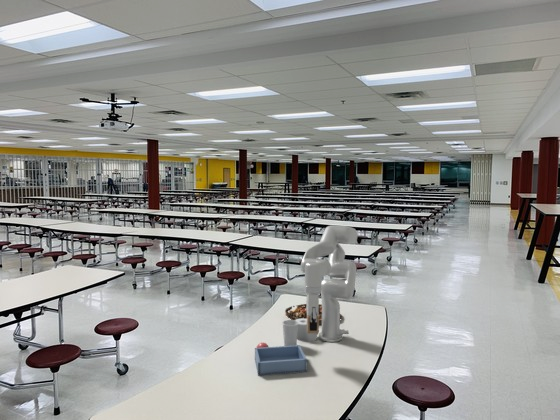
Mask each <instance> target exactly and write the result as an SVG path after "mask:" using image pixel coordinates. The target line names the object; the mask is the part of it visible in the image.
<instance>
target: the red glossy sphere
mask: <svg viewBox="0 0 560 420" xmlns="http://www.w3.org/2000/svg"><path fill="white" fill-rule="evenodd" d="M263 347H269V345H268V344H267V343H266V342H259V343H258V344H257V346H256V348H263Z"/></svg>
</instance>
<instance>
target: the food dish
mask: <svg viewBox="0 0 560 420" xmlns="http://www.w3.org/2000/svg"><path fill="white" fill-rule="evenodd" d="M295 306H296V308H295ZM293 308H295V309H293ZM292 309H293V310H292ZM318 312H319V327H320V326H322V303H321V304H319V310H318ZM284 313H285V314H284V315H285V317H286V316H287V317H288V318H287V317H286V318H287V319H289V318H290V319H291V320H296V319H301V318H304V319H307V312H306V303H303V304H302V303H301V304H297V305H293V306H292V305H291V306H289V307H287V308H285V310H284ZM290 319H289V320H290ZM340 319H342V320H343V316H342V314H341V313H340Z"/></svg>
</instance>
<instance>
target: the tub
mask: <svg viewBox="0 0 560 420" xmlns="http://www.w3.org/2000/svg"><path fill="white" fill-rule="evenodd" d="M254 363H255V366H256V371H257V375H258V376H259V377H260V376H269V375H271V376H272V375H282V374H297V373H307V371H308V369H307V368H308V366H307V365H308V360H307V357H306V355H305V353H304V351H303V349H302V347H301V345H300V344H299V345H298V344H297V345H294V346H284V345H283V346H281V345H280V346H268V347H263V348H257V347H255V348H254Z"/></svg>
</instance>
